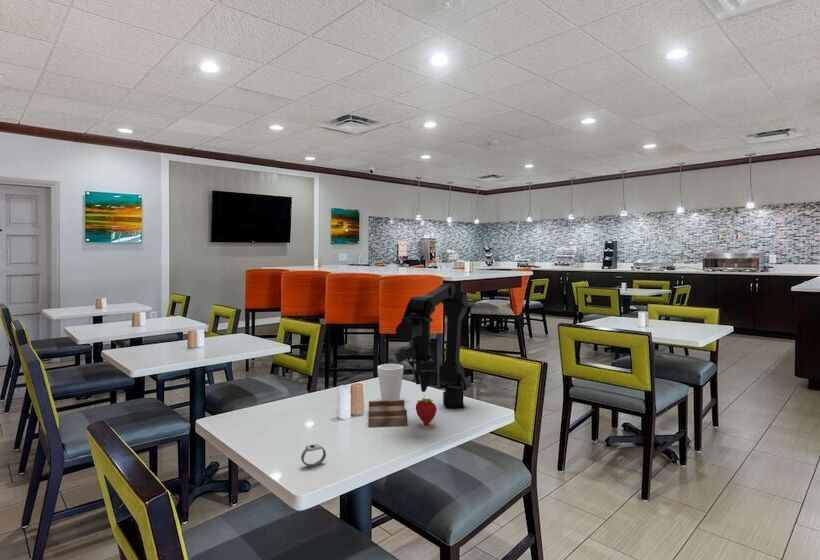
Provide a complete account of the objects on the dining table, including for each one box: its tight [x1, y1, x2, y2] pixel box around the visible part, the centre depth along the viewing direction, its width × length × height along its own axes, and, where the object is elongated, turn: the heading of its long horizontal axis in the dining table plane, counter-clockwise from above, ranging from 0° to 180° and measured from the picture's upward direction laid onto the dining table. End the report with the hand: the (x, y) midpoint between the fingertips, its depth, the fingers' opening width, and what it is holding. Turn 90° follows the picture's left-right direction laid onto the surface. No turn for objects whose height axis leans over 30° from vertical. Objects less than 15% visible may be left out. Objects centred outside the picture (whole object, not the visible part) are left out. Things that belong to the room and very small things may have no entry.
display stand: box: [368, 399, 408, 428], centre depth 155 cm, size 12×16×4 cm
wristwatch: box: [300, 443, 327, 468], centre depth 119 cm, size 6×3×5 cm, turn 121°
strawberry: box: [415, 394, 437, 426], centre depth 147 cm, size 6×8×10 cm
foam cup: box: [377, 363, 404, 401], centre depth 172 cm, size 10×9×13 cm
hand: (420, 387), depth 146 cm, fingers open, 9 cm apart
